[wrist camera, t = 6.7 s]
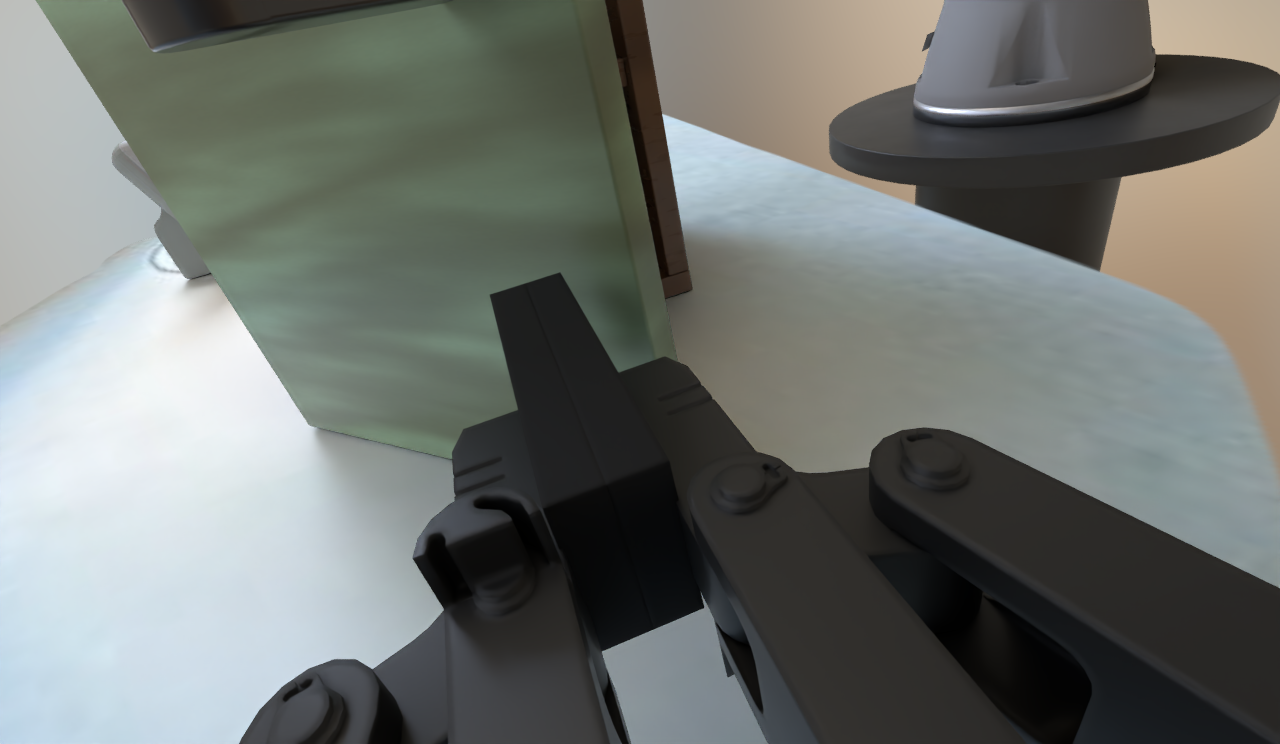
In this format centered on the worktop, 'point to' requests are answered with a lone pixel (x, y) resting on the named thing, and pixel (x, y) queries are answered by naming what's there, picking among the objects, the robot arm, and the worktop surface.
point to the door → (387, 185)
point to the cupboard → (649, 140)
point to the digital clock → (167, 223)
